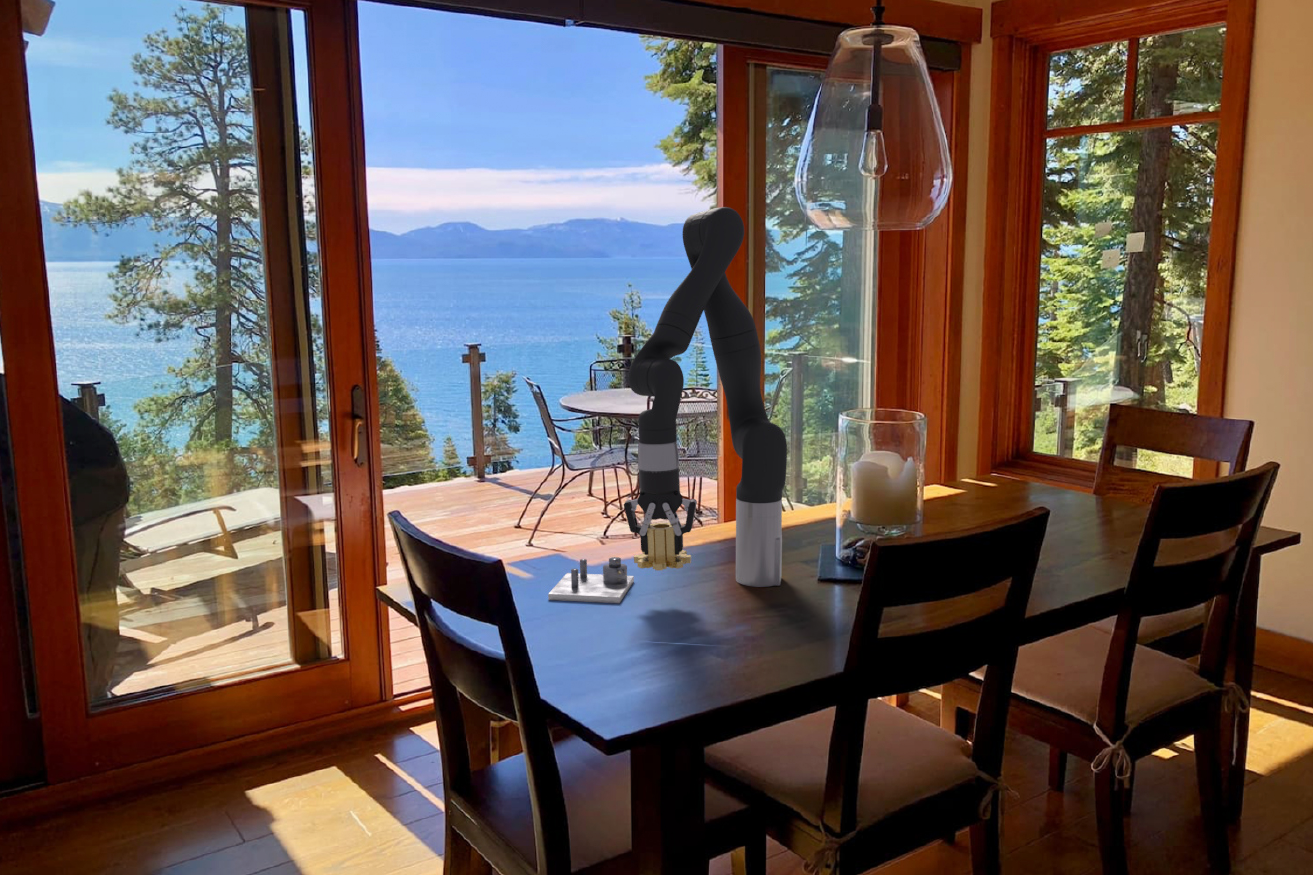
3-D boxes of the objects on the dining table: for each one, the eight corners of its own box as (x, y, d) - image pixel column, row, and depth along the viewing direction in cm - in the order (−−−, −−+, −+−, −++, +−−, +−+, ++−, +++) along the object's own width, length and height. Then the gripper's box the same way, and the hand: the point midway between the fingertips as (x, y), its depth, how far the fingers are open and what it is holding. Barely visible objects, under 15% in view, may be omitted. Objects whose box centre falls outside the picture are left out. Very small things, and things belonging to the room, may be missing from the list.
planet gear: (693, 554, 187) (692, 519, 186) (687, 570, 177) (686, 533, 176) (639, 554, 189) (637, 519, 188) (630, 570, 178) (628, 533, 177)
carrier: (633, 581, 197) (633, 554, 196) (619, 603, 184) (619, 573, 183) (567, 578, 200) (566, 551, 199) (548, 599, 186) (547, 570, 185)
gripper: (699, 461, 183) (701, 548, 185) (624, 462, 185) (627, 548, 187) (695, 469, 175) (698, 559, 178) (617, 469, 177) (621, 559, 180)
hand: (662, 553), depth 182 cm, fingers closed on planet gear, 5 cm apart
